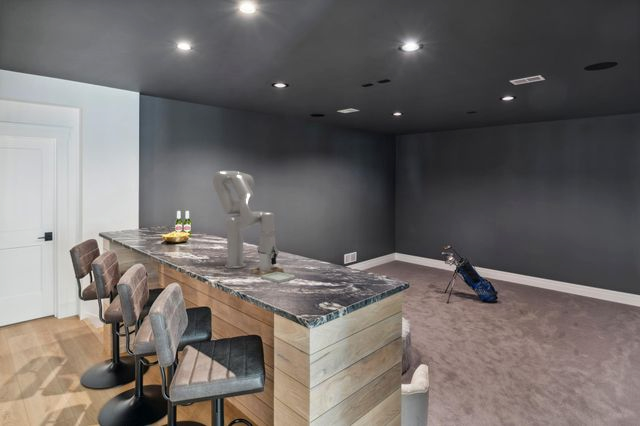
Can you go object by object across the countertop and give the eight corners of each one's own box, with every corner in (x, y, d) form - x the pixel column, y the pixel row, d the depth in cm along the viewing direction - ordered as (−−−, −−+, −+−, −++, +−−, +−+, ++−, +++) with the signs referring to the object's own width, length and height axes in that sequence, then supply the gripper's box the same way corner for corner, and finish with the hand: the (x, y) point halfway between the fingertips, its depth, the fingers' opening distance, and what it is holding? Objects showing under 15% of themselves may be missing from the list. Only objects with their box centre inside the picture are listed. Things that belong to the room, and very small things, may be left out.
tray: (261, 278, 204) (261, 275, 204) (277, 274, 213) (277, 271, 213) (279, 283, 195) (279, 280, 195) (294, 278, 204) (294, 275, 204)
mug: (262, 275, 211) (262, 254, 210) (257, 272, 216) (257, 252, 215) (277, 272, 217) (278, 252, 216) (272, 270, 222) (272, 250, 221)
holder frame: (251, 273, 215) (251, 269, 215) (270, 268, 226) (270, 265, 226) (264, 276, 207) (264, 272, 207) (283, 271, 219) (283, 268, 218)
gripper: (252, 233, 217) (253, 262, 219) (273, 236, 206) (273, 266, 208) (262, 231, 223) (262, 259, 224) (282, 234, 212) (283, 264, 213)
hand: (267, 263), depth 216 cm, fingers open, 9 cm apart
